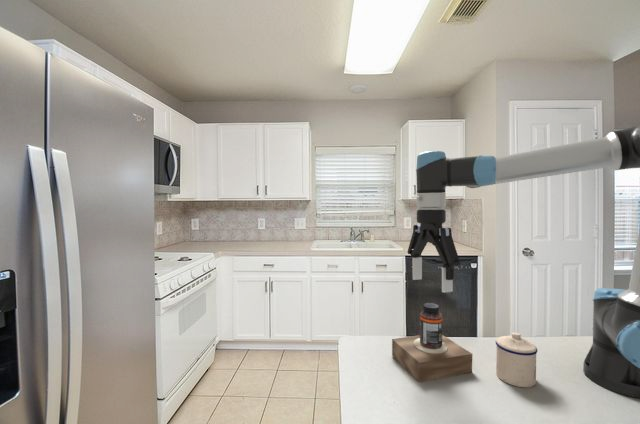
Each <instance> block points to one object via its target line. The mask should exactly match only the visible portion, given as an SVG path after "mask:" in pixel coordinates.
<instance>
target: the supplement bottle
mask: <svg viewBox="0 0 640 424" xmlns="http://www.w3.org/2000/svg"><path fill="white" fill-rule="evenodd" d="M419 335H420V343H421V345H422V346H424V347H426V348H429V349H438V348H441V347H442V335H443V315H442V313H441V312H440V309H439V304H436V303H432V302H427V303H423V309H422V311H421V312H420V313H419Z"/></svg>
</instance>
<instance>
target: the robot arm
mask: <svg viewBox="0 0 640 424" xmlns="http://www.w3.org/2000/svg"><path fill="white" fill-rule="evenodd" d="M605 168H606V169H607V168H609V169H610V170H613V171H620V170H628V169H629V170H630V169H640V123H639V124H637V125H633V126H630V127H627V128H623V129H619V130H615V131H610V132H608V133H607V134H606V135H605V136H604V137H600V138H594V139H590V140H584V141H579V142H578V141H577V142H573V143H568V144H563V145H562V144H561V145H557V146H551V147H545V148H540V149H535V150H530V151H524V152H519V153H513V154H509V155H503V156H498V157H497V156H496V157H495V156H494V155H478V156H466V157H465V156H464V157H454V158H452V157H451V158H450V157H447V156H446V153H445V152H444V151H441V150H435V151H434V150H431V151H430V150H429V151H423V152H420V153H419V154H418V155H417V157H416V169H415V171H416V174H415V175H416V176H415V177H416V207H417V208H419V209H417V211H416V222H417V223H418V224H413V226H412V227H413V228H412V234H411V238H410V242H409V244H408V248H407V254H408V255H410V257H411V259H412V261H411V266H412V280H413V281H416V280H419V281H420V280H423V258H422V257H423V255H422V253H423V252H424V250H425V248H426V247H427V244H428V243H430V244H431V245H433V246H434V247H435V250H436V251H437V253H438V256H439V258H440V260H441V262H442V266H441V293H444V294H445V293H452V292H454V286H453V281H454V280H455V279H454V277H455V275H454V273H455V272H454V271H455V270H454V269H455V267H457V266H460V265H461V261H460V257H459V255H458V252H457V248H456V245H455V242H454V238H453V237H452V228H451V227H443V224H445V223H446V222H447V221H446V210H445V209H444V208H446V207H447V198H446V197H447V196H446V194H447V193H446V188H447V187H467V188H469V189H477V188H481V187H485V186H486V187H487V186H492V185H493V186H494V185H497V184H499V185H500V184H505V183H512V182H519V181H526V180H532V179H538V178H539V179H540V178H545V177H553V176H558V175H565V174H572V173H580V172H585V171H591V170H599V169H600V170H601V169H605ZM637 234H638V235H637V241H636V245H635V250H634V257H633V262H632V263H633V264H632V267H631V273H630V278H629V279H630V280H629V283H628V284H629V286H628V289H621V288H612V287H611V288H610V287H609V288H608V287H600V288H596V289H595V290H594V293H593V298H592V301H593V310H592V311H593V314H592V316H593V319H592V344H591V346H590V349H589V350H588V353H587V354H586V356H585V358H584V361H583V364H582V365H583V366H582V367H583V368H582V369H583V370H582V371H583V374H584V375H585V376H586V377H587V378H588V379H589V380H590V381H592V382H594V383H596V384H598V385H599V386H601V387H603V388H606V389H607V390H610V391H613V392H615V393H618V394H622V395H624V396H629V397H633V398H637V399H640V228H639V229H638V233H637Z"/></svg>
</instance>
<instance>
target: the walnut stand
mask: <svg viewBox="0 0 640 424" xmlns="http://www.w3.org/2000/svg"><path fill="white" fill-rule="evenodd" d="M391 346H392V347H391V355H392V357H393V358H394V359H395V360H396V361H397V362H398V363H399V364H400V365H401V366H402V367H403V368H404V369H405V370H406V371H407V372H408V373H409V374H410V375H412V376H413V377H414V378H415V380H416V381H417V382H419V383H423V382H427V381H431V380H438V379H439V380H440V379H443V378H448V377H454V376H460V375H465V374H470V373H473V353H472V352H470V351H469V350H467V349H466V348H464V347H462V346H461V345H459V344H458V343H456V342H454V341H453V340H451V339H450V338H448V337H447V336H445V335H443V334H442V347H441V348H438V349H429V348H426V347H424V346H422V345H421V343H420V334H417V335H412V336H411V335H410V336H405V337H398V338H392V340H391Z"/></svg>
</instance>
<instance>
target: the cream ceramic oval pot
mask: <svg viewBox="0 0 640 424" xmlns="http://www.w3.org/2000/svg"><path fill="white" fill-rule="evenodd" d="M495 345H496V351H495V352H496V356H495V357H496V358H495V360H496V366H495V367H496V368H495V371H496V376H497V377H498V378H499V379H500V380H501V381H502V382H504V383H506V384H509V385H511V386H515V387H518V388H531V387H534V386H535V385H536V383H537V382H536V381H537V380H536V379H537V353H538V347H537V346H536V345H535V344H534V343H533V342H532V341H530V340H527V339H525V338H524V337H522V335H521V334H520V333H519V332H511V334H510V335H503V336H499V337H497V338H496V340H495Z"/></svg>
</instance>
